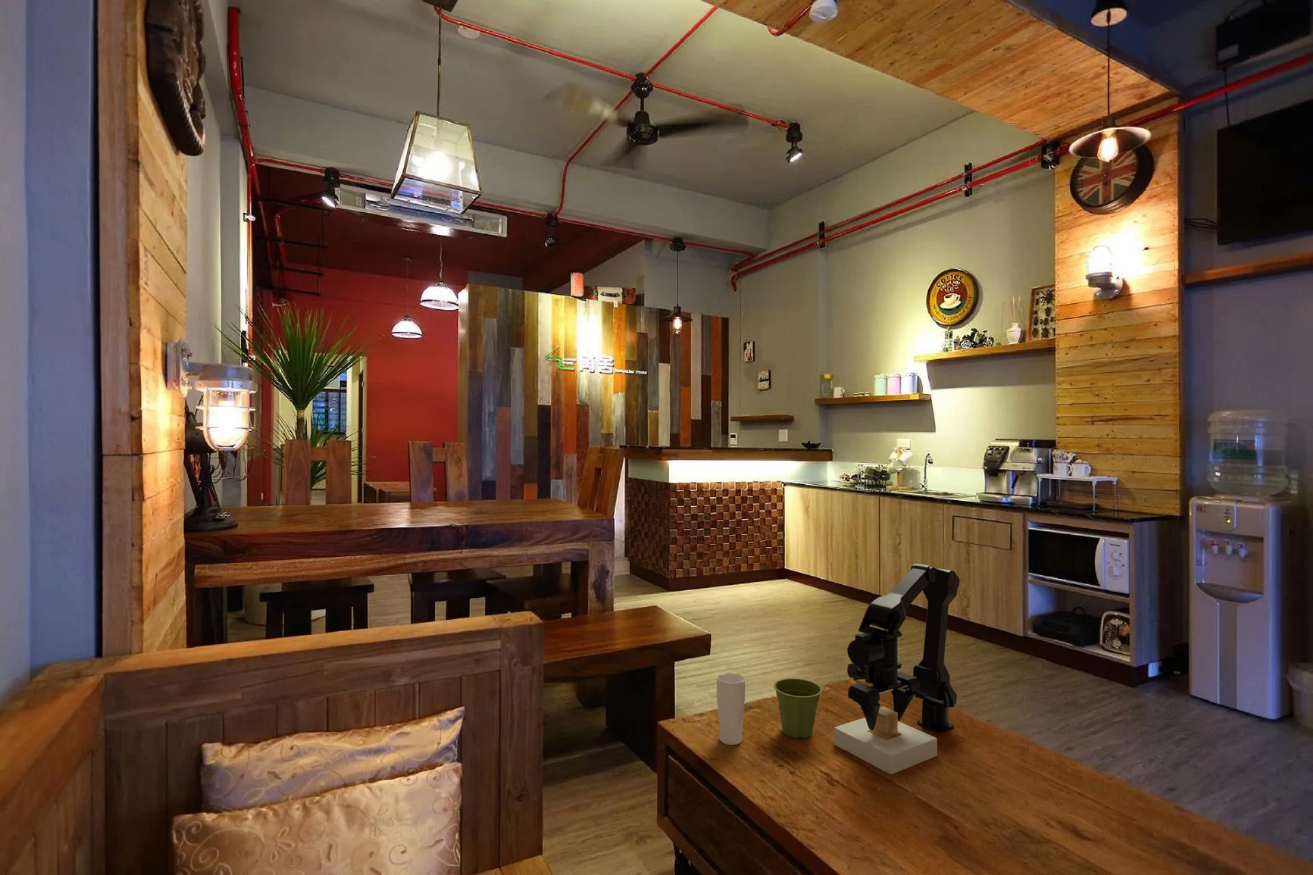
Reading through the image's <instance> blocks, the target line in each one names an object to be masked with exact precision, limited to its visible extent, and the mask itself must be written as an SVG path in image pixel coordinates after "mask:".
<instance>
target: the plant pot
mask: <svg viewBox="0 0 1313 875" xmlns="http://www.w3.org/2000/svg"><path fill="white" fill-rule="evenodd" d="M773 689H774V690H775V693H776V698H777V701H778V710H779V714H780V723H781V727H782V728H781V730H782V731H783V734H785V735H786V736H788V737H790V738H793V739H798V738H801V739H807V738H810V737H811V736H812V735H813V731H814V726H815V725H814V724H815V721H816V715H817V708H818V703H819V701H820V697H821V694H822V693H823V687H822V686H821V685H820V684H818V683H816V682H814V681H813V680H808V679H804V678H797V677H793V678H792V677H791V678H789V677H788V678H787V677H785V678H782V679H778V680H776V681H775V682H774V683H773Z"/></svg>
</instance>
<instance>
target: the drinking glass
mask: <svg viewBox="0 0 1313 875" xmlns="http://www.w3.org/2000/svg"><path fill="white" fill-rule="evenodd" d="M716 701H717V704H716V705H717V713H718V714H717V716H718V727H719V728H718V730H719V741H720V742H721V743H722V744H724V745H728V746H736V745H739V744H740V743H741V742H742V740H743V723H744V712H745V701H746V679H745V676H743V675H741V674H739V673H729V672H727V673H721V674H719V675H718V676H717V677H716Z"/></svg>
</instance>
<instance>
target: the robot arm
mask: <svg viewBox="0 0 1313 875" xmlns="http://www.w3.org/2000/svg"><path fill="white" fill-rule="evenodd" d="M959 587H960V577H959V576H958V575H957V574H956V572H955V570H952V569H946V568H939V567H933V566H932V565H928V564H921V563H914V564H912V565H911V567H910V570H909V572H908V573H907V574H906V575H905V576H904V577H903V578H902V579H901V580H900V581H899V583H898V584H897V585H896V586H895V587H894V588H893V589H892V590H891V591H890V592H889V593H888V594H887V595H886V594H885V595H882V596H878V597H877V598H876V599H874V600H873V601H872V602H870V603H869V605H867V606H868V607H867V608H866V609H865V613H864V616H863V618H862V620H861V623H860V625H859V628H858V632H859V633H857V634H855V635H854V640H851V642H850V643H848V646H847V650H846V652H847V656H848V658H849V660H850V661H851V663H848V664H847V670H846V673H847V676H848V677H849V678H850V679H852V680H853V681H854V682H857V681H858V680H865V681H864V682H865V683H866V684H865V683H862V682H859V683H855V684H853V685H850V686H849V687H847V691H848V692H847V697H848V699H850V700H852V702H855V703H857V704H858V705H859V706H860V708H861V711H862V714H863V716H864V718H865V719H866V722H867V725H868V728H869V729H870V730H874V727H875V724H876V720H877V716H878V712H879V708H880V707H881V704H880V700H881V697H880V696H881V694H885V693H888V692H890V693H891V694H892V698H893V699H892V700H893V701H892V702H893V711H895V712H897V713H898V721H899V722H901V719H902V717H903V716H904V714H905V712H906V710H907V708H908V706H909V705H910V703H911V702H912V700H913V699H914V697H915V698H916V699H919V700H922V704H921V705H922V706H921V718H920V719H918V720H917V721H916V724H917V725H918V724H919V725H920V726H923V727H925V728H928V729H931V730H932V731H935V732H936V733H941V732H944V731H947V730H949V729H952V728H955V724H954V723H951V722H950V721H949V720H950V719H949V715H950V714H949V710H950V709H949V708H955V705H957V700H958V694H957V693H956V692H955V690H954V688H953V687H952V686H951V680H950V679H951V678H950V673H949V671H948V669H947V667H946V664H945V654H946V643H947V642H946V641H947V631H948V627H947V626H948V617H949V608H950V604H951V603H952V602H953V601H954V599H955V598H956V597H957V595H958V589H959ZM922 592H923V594H924V597H925V599H926V601H927V606H926V609H927V610H926V619H925V630H924V631H925V632H924V640H923V641H924V642H923V653H922V659H921V661H919V663H918V664H915V665H914V666H913V669H912V670H913V671H912V673H913V674H912V675H911V674H908V673H905V672H902V671H900V672H899V670H900V669H902V667H903V666H902V663H900V662H898V661H899V660H898V652H899V651H898V646H899V644H898V639H899V638H900V637H901V638H902V636H903V633H902V631H900V629H901V627H902V626H903V624H904V623H905V621H906V619H907V618H906V617H907V615H906V612H907V610H908V607H909V606H910V605H911V604H912V603H913V602H914V601H915V599H917V597H919V595H920V594H921V593H922ZM867 684H871V686H869V685H867Z"/></svg>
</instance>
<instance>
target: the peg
mask: <svg viewBox="0 0 1313 875" xmlns="http://www.w3.org/2000/svg"><path fill="white" fill-rule="evenodd" d="M872 734H874V735H876V736H879V737H881V738H883V739H885V740H889V739H892V738H895V737H898V713H897V712H895V711H894V709H893V710H892V709H890V708H888V707H885V706H880V708H879V712H878V716H877V720H876V724H875V727H874V730H872Z"/></svg>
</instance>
